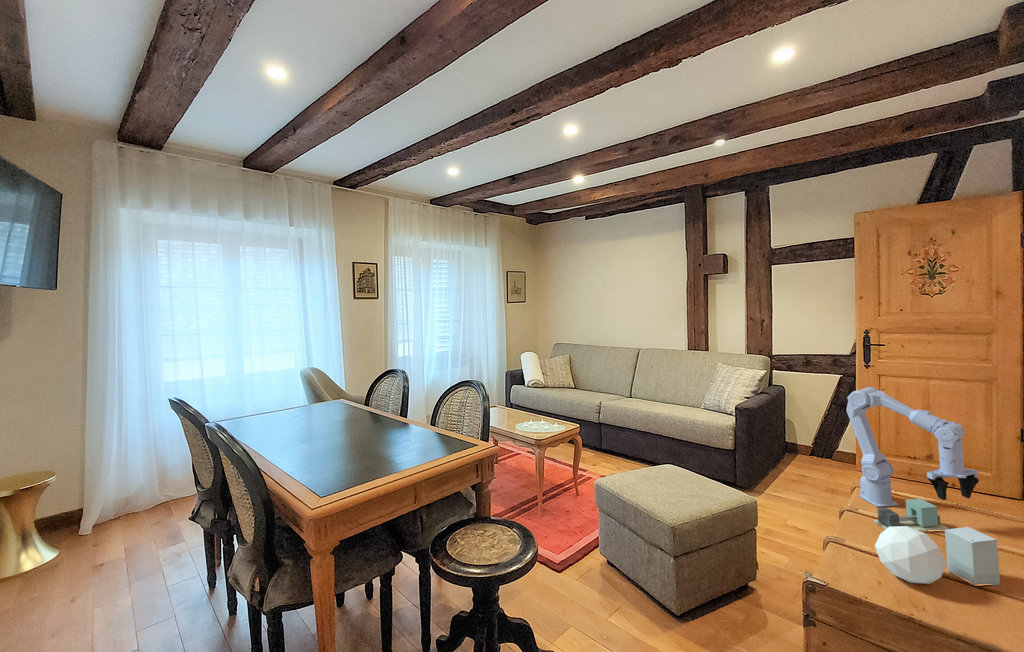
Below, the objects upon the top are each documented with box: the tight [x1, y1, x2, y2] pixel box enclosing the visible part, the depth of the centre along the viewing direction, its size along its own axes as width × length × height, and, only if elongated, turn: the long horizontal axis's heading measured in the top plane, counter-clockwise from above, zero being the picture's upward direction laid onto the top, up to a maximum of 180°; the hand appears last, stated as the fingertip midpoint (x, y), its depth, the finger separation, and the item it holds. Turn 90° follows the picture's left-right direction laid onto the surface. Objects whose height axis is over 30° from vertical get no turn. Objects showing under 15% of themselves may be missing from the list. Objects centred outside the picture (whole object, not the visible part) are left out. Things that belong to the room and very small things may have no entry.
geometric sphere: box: [874, 526, 948, 585], centre depth 120 cm, size 14×15×15 cm
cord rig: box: [873, 507, 950, 533], centre depth 144 cm, size 8×18×6 cm, turn 86°
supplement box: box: [944, 526, 1001, 587], centre depth 117 cm, size 7×7×13 cm
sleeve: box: [905, 498, 939, 527], centre depth 144 cm, size 6×5×6 cm
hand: (953, 497), depth 142 cm, fingers open, 7 cm apart
